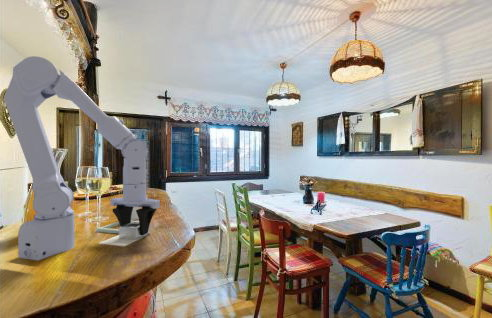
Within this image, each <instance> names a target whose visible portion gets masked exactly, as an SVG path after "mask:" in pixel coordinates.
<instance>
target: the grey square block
mask: <svg viewBox="0 0 492 318" xmlns="http://www.w3.org/2000/svg"><path fill="white" fill-rule="evenodd" d="M133 221H134V222H131V223H139V222H136V221H137V220H133ZM131 223H128V224H125V225H122V226H120V225H118V229H119V234H118V235H119V238H124V239H134V240H137V239H139V238H141V237H143V236H145V235H147V236H148V235H150V234H151V224H150V225H149V229H148V233H147V234H145V235H141V234H140V225H139V226H137V227H131ZM145 237H146V236H145ZM143 238H144V237H143ZM141 239H142V238H141ZM139 240H140V239H139ZM137 241H138V240H137Z"/></svg>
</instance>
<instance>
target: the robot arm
mask: <svg viewBox="0 0 492 318" xmlns="http://www.w3.org/2000/svg"><path fill="white" fill-rule="evenodd" d="M54 96H57V97H58V98H59V99H63V100H68V101H70V102H71V103H73V104H74V105H75V106H76V107H78V108H79V110H81V111H82V112H83V113H84V114H85V115H87V116H88V117H89V118H90V119H91V120H92V121H93V122H95V124H97V130H96V131H97V133H99V134H100V135H101V136H103V137H102V138H104V139H105V140H107V142H108V143H110V144H111V145H112V147H114V148H115V149H116V150H120V151H121V155H122V157H123V167H122V197H114V198H111V199H110V207H114V208H112V213H113V215H115V217H116V219H117V222H118V221H119V224H120V225H119V226H122V225H125V224H128V223H131V214H132V210H133V207H139V209H138V210H136V212H137V215H138V218H139V219H138V221H139V224H140V234H141V235H145V234H147V233H148V229H149V225H150V226H151V222H152V219H153V217H154V215H155V213H156V212H157V209H159V208H160V207H161V200H160V199H153V198H148V197H147V166H146V163H147V162H146V161H147V160H146V157H147V156H148V154H149V149H148V147H147V145H146V143H145V142H144V141H142V140H140V139H137V138H138V137H139V136H138V135H137V134H136V133H135V134H134V133H133V132H132V131H131V130H130V129H129V128H128V127H127V126H126V125H125V123H126V122H125V121H124V120H123V119H122V118H120V119H119V118H118V117H116V116H109V115H107V114H106V113H105V112H104V111H103V110H102V109H101V107H100V106H98V105H97V104H96V102H94V101H93V99H92V98H91V97H89V95H87V93H86V92H84V90H83V89H82V88H81V87H80V86H79V85H78V84H77V83H76V82H75V81H74V80H72V78H70V77H69V76H68V75H67V74H66V73H65V72H63V71H62V70H60V69H59V73H58V70H57V67H56V66H55V64H54V63H53V62H51V61H50V60H49V59H47V58H45V57H43V56H42V57H41V56H35V55H34V56H28V57H26V58H24V59H22V60H21V61H19V63H18V62H17V64H16V65H15V66H13V68H12V76H11V79H10V81H9V84H8V87H7V89H6V91H5V94H4V97H3V99H4V103H5V107H6V109H7V112H8V115H9V117H10V120H11V123H12V125H13V129H14V131H15V134H16V137H17V139H18V143H19V145H20V148H21V150H22V152H23V153H22V154H23V157H24V159H25V162H26V164H27V167H28V170H29V173H30V174H31V177H32V182H33V183H32V189H33V191H34V200H33V209H34V210H35V212H36V213H37V214H36V215H34V219H33V220H31V221H28V220H27V221H25V222H23V223H22V224H21V225H20V226H19V229H18V235H17V239H18V241H17V242H18V243H17V246H18V249H17V250H18V256H17V257H18V258H19V259H26V260H32V261H40V260H43V259H46V258H48V257H52V256H55V255H58V254H60V253H65V252H67V251H70V250H72V249H73V248H74V247H75V210H74V209H72V208H71V206H70V205H72V203H73V201H74V198H75V197H74V196H75V195H74V192H73V190H72V189H71V188H70V187H69V186H68V187H67V186H66V184H65V182H64V181H65V180H64V178H63V176H62V175H61V173H60V170H59V167H58V165H57V164H58V163H57V162H56V161H57V160H56V159H55V156H54V152H53V150H52V148H51V143H50V142H49V139H48V136H47V133H46V130H45V128H44V124H43V120H42V119H41V116H40V113H39V109H38V108H39V107H40V106H41V105H42V104H43V103H44V102H45V101H46V100H47V99H50V98H52V97H54ZM137 204H139V205H137ZM147 235H148V234H147Z"/></svg>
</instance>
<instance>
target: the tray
mask: <svg viewBox="0 0 492 318" xmlns="http://www.w3.org/2000/svg"><path fill="white" fill-rule="evenodd" d="M134 221H136V222H139V220H131V222H134ZM116 226H120V224H119V221H118V220H117V221H116V222H113V223H109V224H107V225H104V226H100V227H97V228H96V232H98V233H106V234H107V233H109V234H117V235H119V228H114V227H116Z"/></svg>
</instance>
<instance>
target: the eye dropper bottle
mask: <svg viewBox="0 0 492 318" xmlns="http://www.w3.org/2000/svg"><path fill="white" fill-rule="evenodd" d="M137 205H139V204H137ZM138 209H140V207H133V210H132V214H131V220H132V221H138V220H139V218H138V215H137V212H136V210H138Z"/></svg>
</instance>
